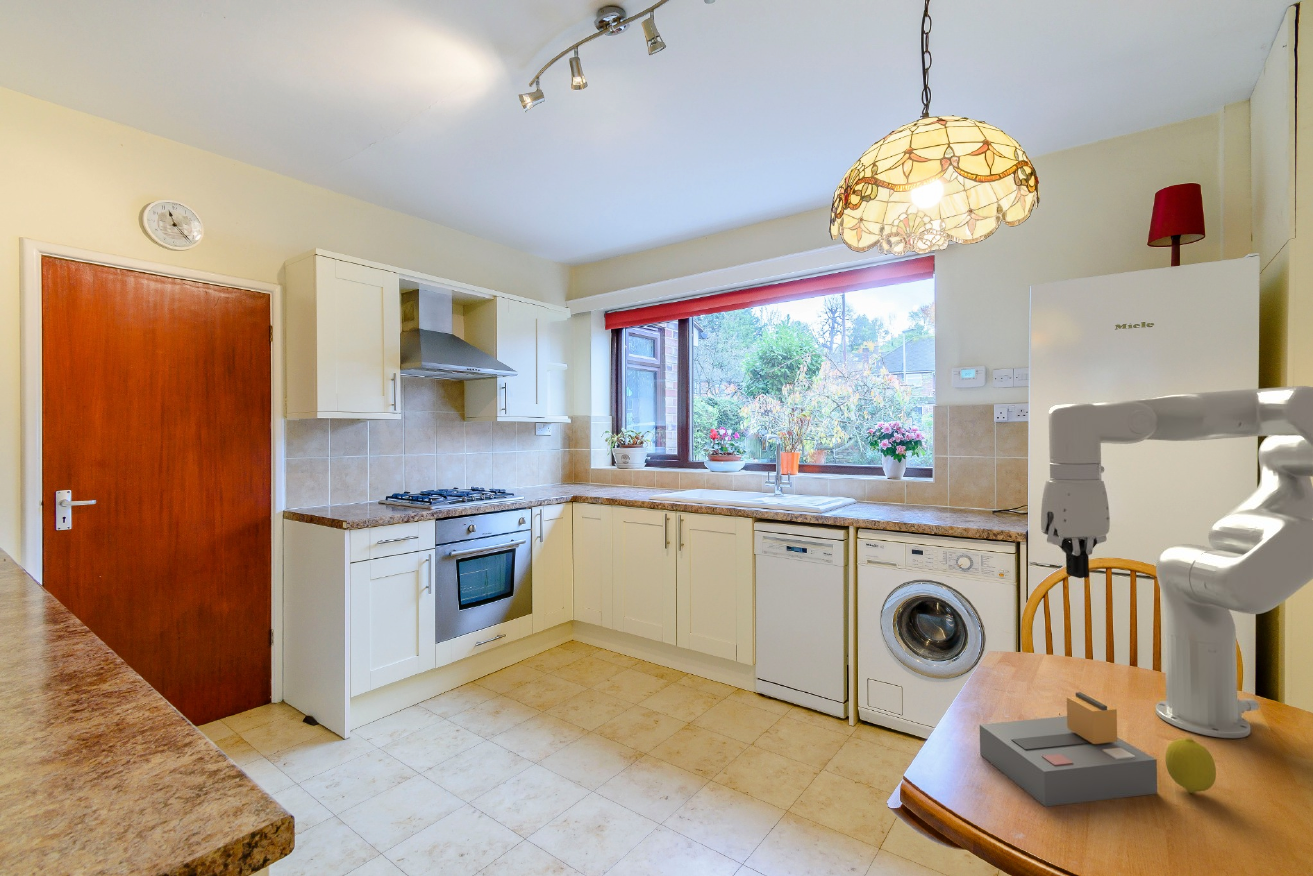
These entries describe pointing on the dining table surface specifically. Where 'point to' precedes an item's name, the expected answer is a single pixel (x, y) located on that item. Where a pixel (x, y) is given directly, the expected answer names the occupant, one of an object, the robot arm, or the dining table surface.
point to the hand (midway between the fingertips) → (1077, 576)
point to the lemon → (1190, 765)
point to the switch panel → (1066, 762)
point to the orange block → (1091, 719)
